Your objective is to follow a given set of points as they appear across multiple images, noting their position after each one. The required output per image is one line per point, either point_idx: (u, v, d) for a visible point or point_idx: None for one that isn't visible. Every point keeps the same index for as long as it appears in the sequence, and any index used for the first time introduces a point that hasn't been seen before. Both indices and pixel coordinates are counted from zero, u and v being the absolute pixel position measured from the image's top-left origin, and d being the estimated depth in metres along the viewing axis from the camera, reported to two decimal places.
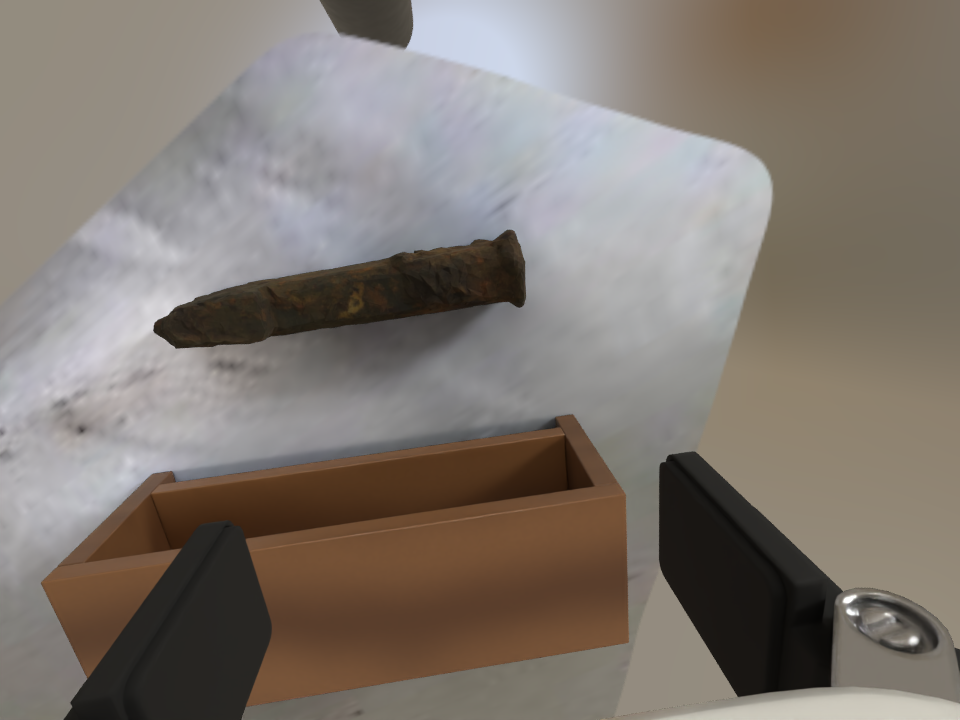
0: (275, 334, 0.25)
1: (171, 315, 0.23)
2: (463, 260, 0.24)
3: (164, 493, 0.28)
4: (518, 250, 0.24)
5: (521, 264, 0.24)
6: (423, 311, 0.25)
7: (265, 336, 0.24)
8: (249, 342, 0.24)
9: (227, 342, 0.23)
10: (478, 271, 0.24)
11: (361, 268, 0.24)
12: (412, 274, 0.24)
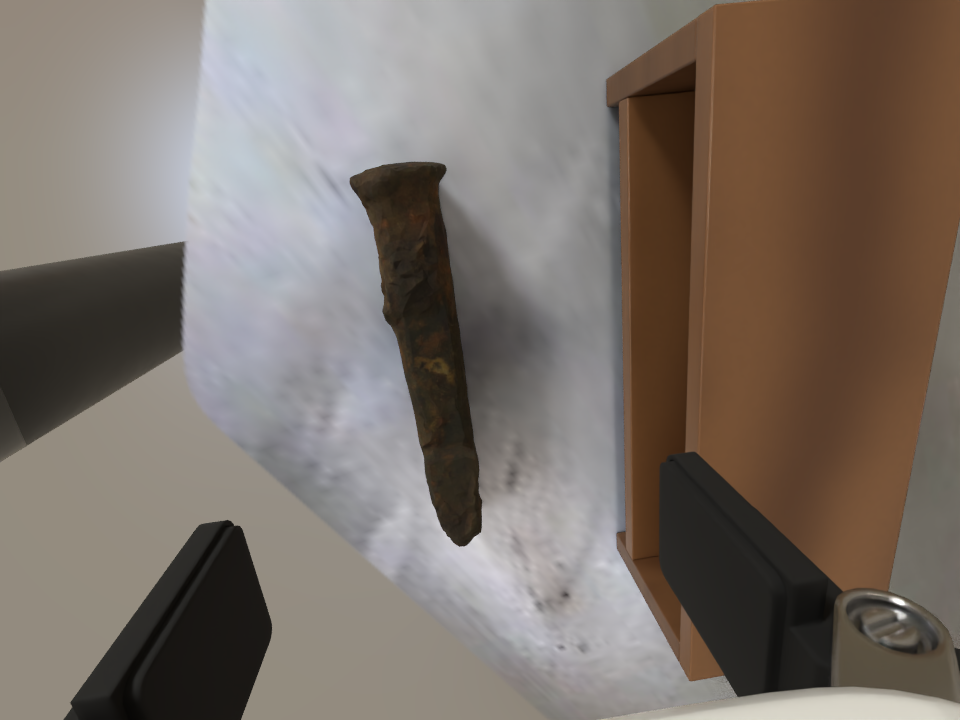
0: (471, 444, 0.24)
1: (447, 533, 0.24)
2: (385, 244, 0.20)
3: (634, 549, 0.28)
4: (369, 174, 0.19)
5: (385, 170, 0.19)
6: (447, 291, 0.21)
7: (471, 456, 0.23)
8: (476, 471, 0.23)
9: (475, 490, 0.23)
10: (397, 225, 0.20)
11: (401, 356, 0.22)
12: (403, 305, 0.21)
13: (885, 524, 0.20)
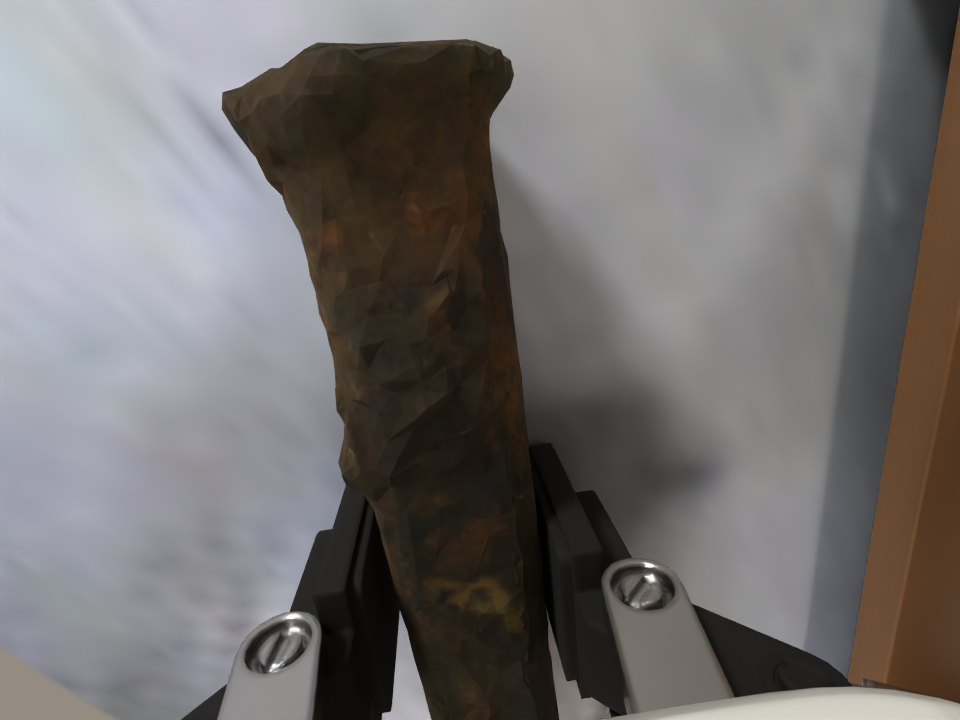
0: None
1: None
2: (337, 294, 0.07)
3: None
4: (275, 75, 0.06)
5: (323, 58, 0.06)
6: (512, 415, 0.08)
7: None
8: None
9: None
10: (371, 240, 0.07)
11: None
12: (393, 459, 0.08)
13: None
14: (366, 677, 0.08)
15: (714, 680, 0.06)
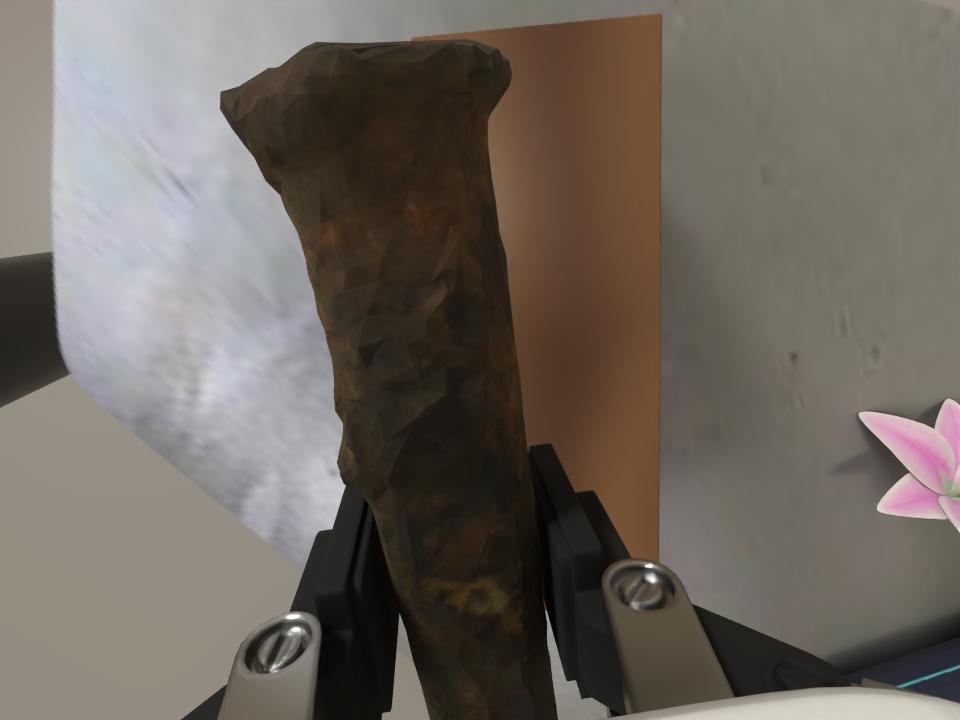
0: None
1: None
2: (336, 294, 0.07)
3: None
4: (273, 74, 0.06)
5: (321, 57, 0.06)
6: (510, 415, 0.08)
7: None
8: None
9: None
10: (369, 239, 0.07)
11: (388, 565, 0.09)
12: (391, 459, 0.08)
13: (644, 479, 0.24)
14: (365, 677, 0.08)
15: (714, 680, 0.06)
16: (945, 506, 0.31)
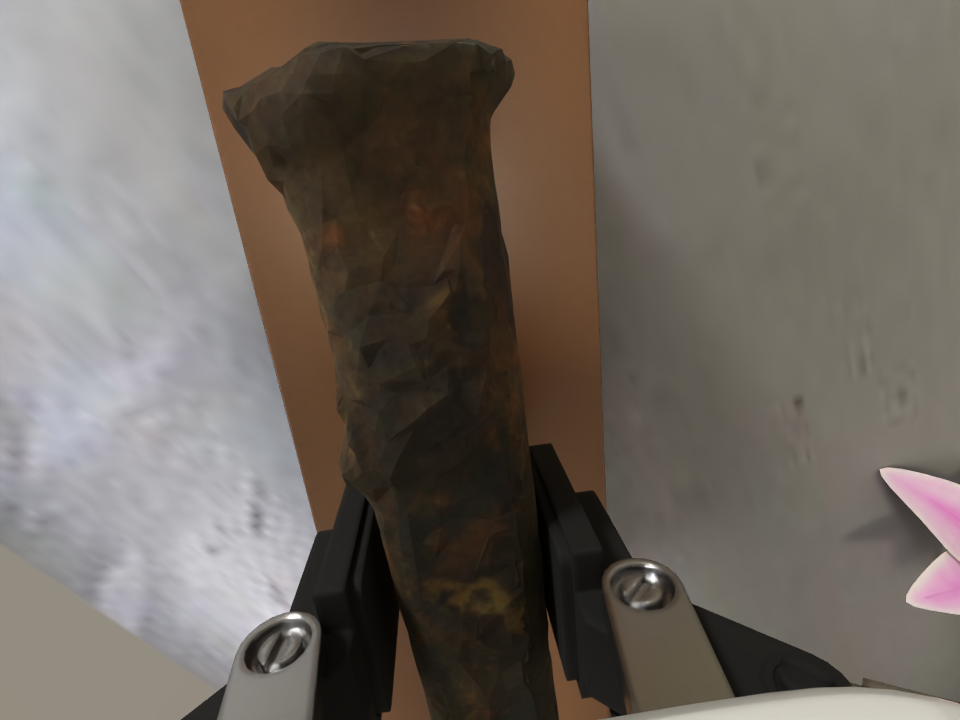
0: None
1: None
2: (338, 294, 0.07)
3: None
4: (276, 73, 0.06)
5: (323, 57, 0.06)
6: (512, 416, 0.08)
7: None
8: None
9: None
10: (371, 239, 0.07)
11: (390, 565, 0.09)
12: (393, 459, 0.08)
13: None
14: (365, 677, 0.08)
15: (714, 680, 0.06)
16: None
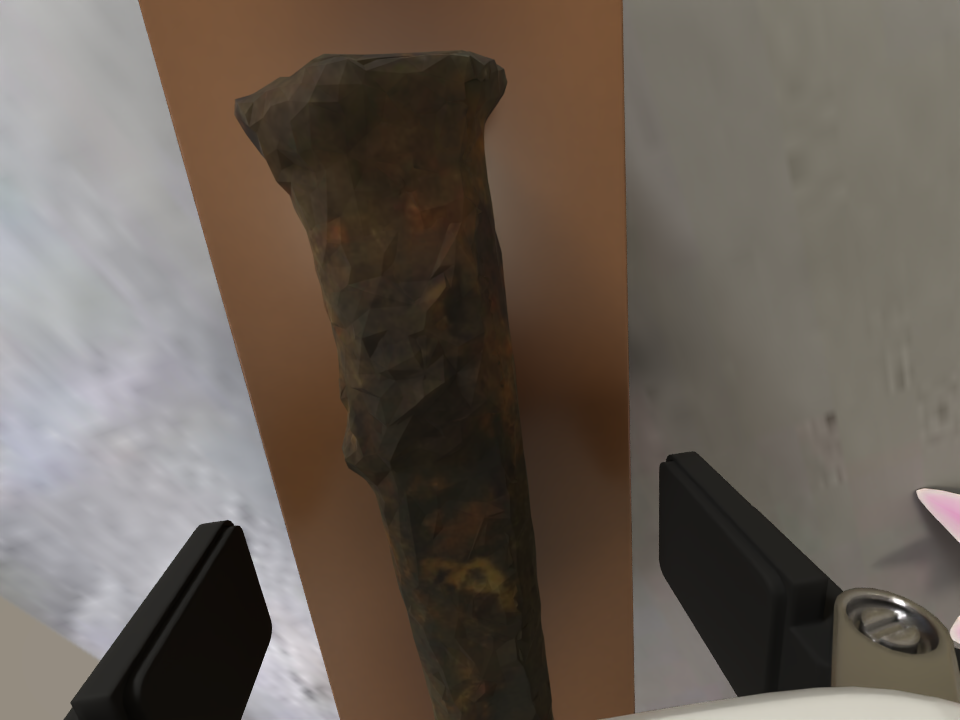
0: None
1: None
2: (341, 288, 0.07)
3: None
4: (284, 83, 0.06)
5: (329, 68, 0.06)
6: (505, 403, 0.08)
7: None
8: None
9: None
10: (372, 236, 0.07)
11: (390, 546, 0.09)
12: (393, 444, 0.08)
13: (610, 651, 0.15)
14: None
15: None
16: None
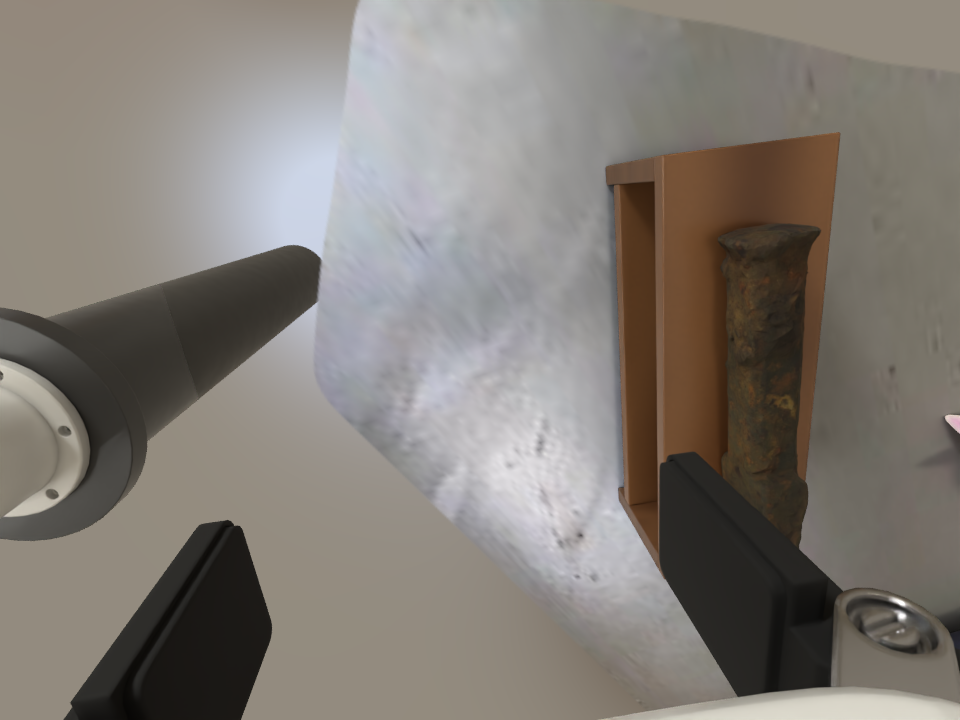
0: None
1: None
2: (762, 297, 0.23)
3: (630, 497, 0.38)
4: (763, 238, 0.22)
5: (782, 236, 0.22)
6: (803, 337, 0.24)
7: (803, 481, 0.26)
8: (807, 494, 0.26)
9: (804, 512, 0.26)
10: (777, 281, 0.23)
11: (748, 393, 0.25)
12: (769, 350, 0.24)
13: None
14: None
15: None
16: None
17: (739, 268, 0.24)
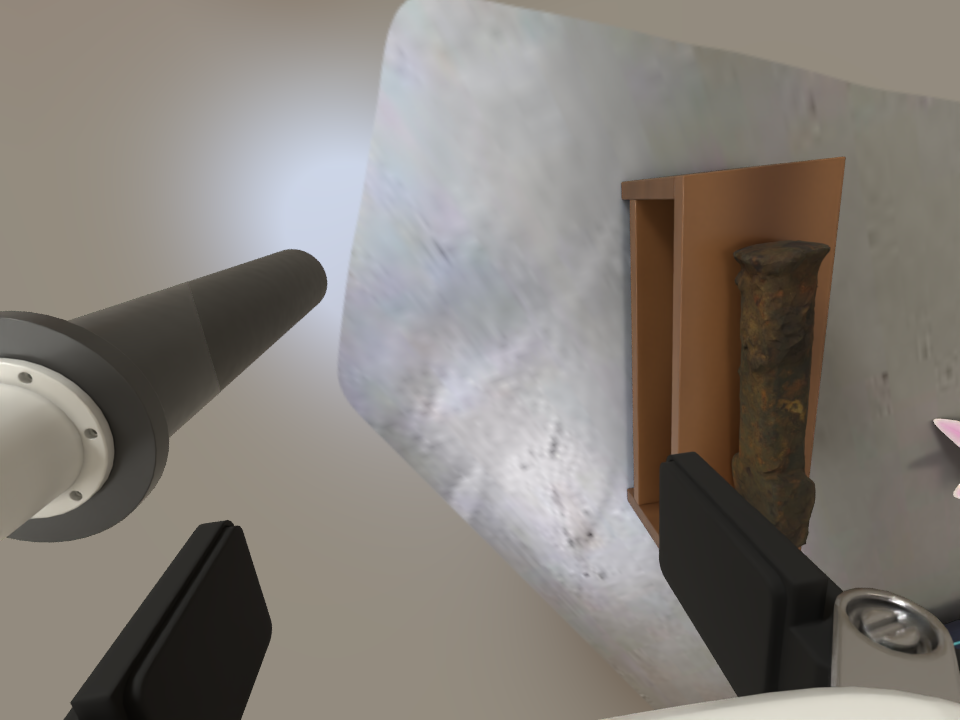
0: (804, 469, 0.28)
1: None
2: (776, 309, 0.25)
3: (639, 497, 0.40)
4: (778, 255, 0.24)
5: (796, 253, 0.24)
6: None
7: (811, 480, 0.28)
8: (814, 493, 0.28)
9: (811, 509, 0.28)
10: (790, 294, 0.25)
11: (760, 398, 0.27)
12: (781, 357, 0.26)
13: None
14: None
15: None
16: None
17: (754, 281, 0.25)
